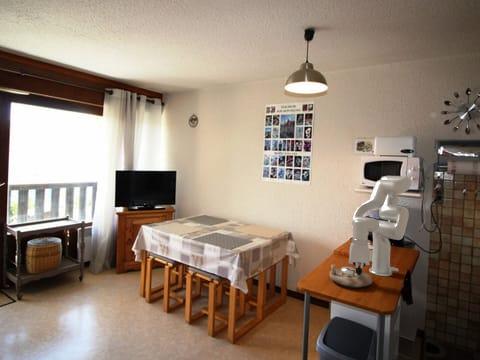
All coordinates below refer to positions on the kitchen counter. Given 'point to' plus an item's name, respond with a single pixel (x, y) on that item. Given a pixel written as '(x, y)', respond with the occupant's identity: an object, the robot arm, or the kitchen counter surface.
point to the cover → (348, 272)
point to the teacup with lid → (370, 252)
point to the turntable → (354, 281)
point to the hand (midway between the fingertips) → (358, 274)
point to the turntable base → (350, 286)
